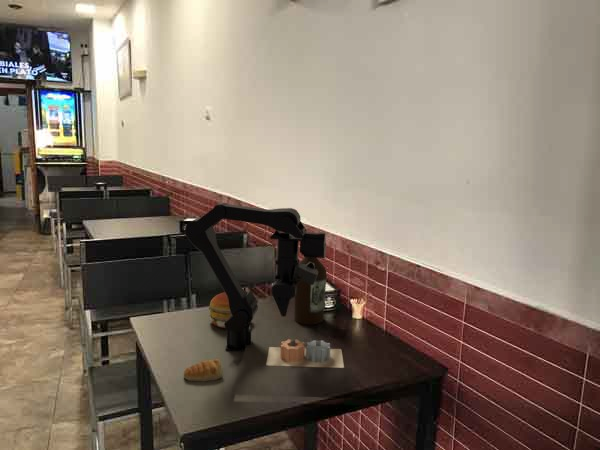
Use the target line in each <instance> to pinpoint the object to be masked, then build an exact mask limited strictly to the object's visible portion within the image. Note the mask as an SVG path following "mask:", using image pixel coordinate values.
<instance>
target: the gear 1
mask: <svg viewBox="0 0 600 450" xmlns="http://www.w3.org/2000/svg"><path fill="white" fill-rule="evenodd" d="M291 340H292V339H286V340H285V341H281V342H280V347H281V353H280V358H281V359H285V360H286V361H287V362H289V361H295V362H298V360H301V359H304V351H305V348H306V347H305V342H304V341H303V342H302V341H300V340H299V339H294V340H295V347H293V346H291Z"/></svg>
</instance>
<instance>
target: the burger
mask: <svg viewBox="0 0 600 450" xmlns="http://www.w3.org/2000/svg"><path fill="white" fill-rule="evenodd" d="M208 310H210V312H209V316H208V317H209V318H208V319H209V322H211V323H212V324H213V325H214V326H216V327H218V328H222V329H223V328H224V329H226V328H225V325H224V323H225V322H226V321H227V320H228V318H229V317H230V316H231V311H230V308H229V302H228V297H227V295H226V293H225V291H223V292H221V293H219V294H216V295H215V296H214V297H213V298H212V299H211V300H210V303H209V307H208Z"/></svg>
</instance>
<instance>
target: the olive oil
mask: <svg viewBox="0 0 600 450" xmlns="http://www.w3.org/2000/svg"><path fill="white" fill-rule="evenodd" d="M309 262H312V263H314V265H315V269H317V271H318V276H317V278H316V280H315V283H314V285H310V284H308V283H307V282H305V281H303V280H300V279H299V282H298V283H297V284H296V294H295V297H294V298H293V301H294V303H293V304H294V313H293V314H294V317H293V318H294V321H295V322H297V323H299V324H302V325H307V326H308V325H310V326H312V325H319V324H320V323H322V322H323V321H324V313H325V308H326V302H325V299H326V289H327V287H326V286H327V279H328V278H327V277H328V276H327V274H328V273H327V270H326V267H325V265H324V263H322V262H321V261H320V260H319V258H313V257H304V256H303V258H302V259H301V260H299V263H300V264H303V265H304V264H305V265H306V264H307V263H309Z"/></svg>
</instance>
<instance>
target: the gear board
mask: <svg viewBox="0 0 600 450" xmlns="http://www.w3.org/2000/svg"><path fill="white" fill-rule="evenodd" d="M290 340H291V346H293V347H295V340H296V339H290ZM280 353H281V346H277V347H275V346H269V347H268V354H267V358H266V366H271V367H272V366H273V367H303V368H305V367H307V368H331V369H332V368H336V369H337V368H341V369H344V368H345V366H344V365H345V364H344V358H343V351H342V349H341V348H330V360H326V361H324V363H321V362H315V363H314V362H312V361H311V360H307V359H306V347H305V351H304V359H301V360H298V362H295V361H289V362H287V361H286V360H285V359H281V358H280Z"/></svg>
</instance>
